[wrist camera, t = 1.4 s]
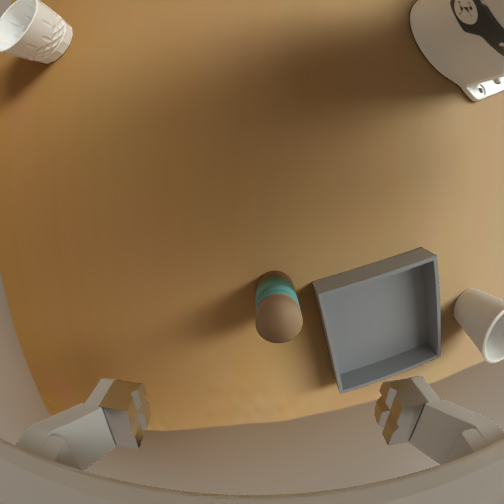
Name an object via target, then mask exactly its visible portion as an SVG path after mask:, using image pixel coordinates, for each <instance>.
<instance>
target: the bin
mask: <svg viewBox="0 0 504 504" xmlns="http://www.w3.org/2000/svg"><path fill="white" fill-rule="evenodd" d="M312 284H313V288H314V292H315V296H316V300H317V304H318V308H319V312H320V316H321V321H322V325H323V329H324V333H325V338H326V342H327V346H328V351H329V355H330V360H331V364H332V369H333V373H334V378H335V380H336V383H337V386H338V389H339V392H340V394H342V393H345V392H348V391H351V390H354V389H357V388H360V387H364V386H366V385H369V384H372V383H375V382H378V381H381V380H384V379H386V378H389V377H392V376H394V375H397V374H400V373H402V372H405V371H407V370H410V369H412V368H415V367H417V366H420V365H422V364H424V363H427V362H429V361H431V360H434V359H436V358H438V357H440V356H441V312H440V290H439V275H438V264H437V255H435V254H433V253H432V252H430V251H428V250H426V249H424V248H422V247H420V248H417V249H414V250H411V251H408V252H405V253H402V254H399V255H396V256H393V257H390V258H387V259H384V260H381V261H378V262H375V263H372V264H368V265H365V266H362V267H359V268H356V269H352V270H349V271H346V272H343V273H339V274H336V275H333V276H330V277H326V278H323V279H320V280H316V281H313V282H312Z"/></svg>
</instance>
